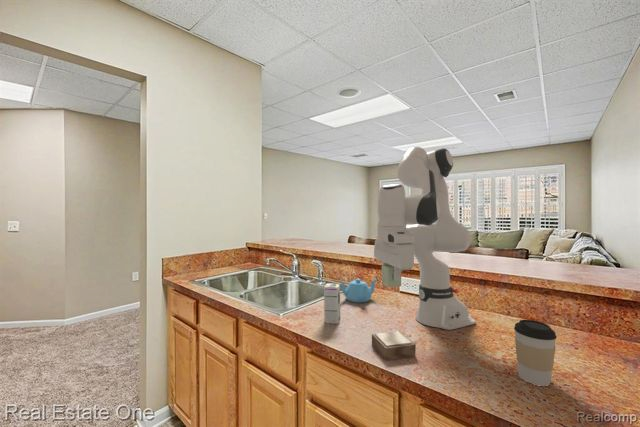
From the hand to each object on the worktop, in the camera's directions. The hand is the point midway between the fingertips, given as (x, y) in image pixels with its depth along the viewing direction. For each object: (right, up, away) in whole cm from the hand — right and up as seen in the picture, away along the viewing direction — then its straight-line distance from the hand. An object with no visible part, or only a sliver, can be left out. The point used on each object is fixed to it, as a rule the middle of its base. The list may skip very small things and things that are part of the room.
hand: (391, 278), depth 92 cm
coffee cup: (+34, -24, -16) cm, 44 cm away
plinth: (0, -23, 0) cm, 23 cm away
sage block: (0, -2, 0) cm, 2 cm away
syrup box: (-18, -23, +24) cm, 38 cm away
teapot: (-4, -23, +50) cm, 55 cm away
